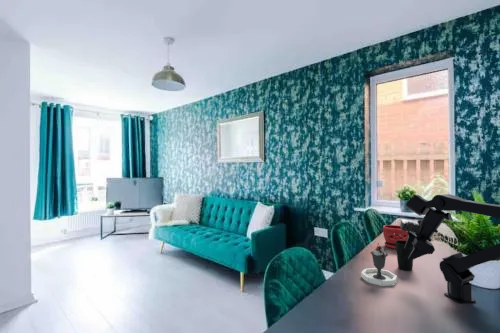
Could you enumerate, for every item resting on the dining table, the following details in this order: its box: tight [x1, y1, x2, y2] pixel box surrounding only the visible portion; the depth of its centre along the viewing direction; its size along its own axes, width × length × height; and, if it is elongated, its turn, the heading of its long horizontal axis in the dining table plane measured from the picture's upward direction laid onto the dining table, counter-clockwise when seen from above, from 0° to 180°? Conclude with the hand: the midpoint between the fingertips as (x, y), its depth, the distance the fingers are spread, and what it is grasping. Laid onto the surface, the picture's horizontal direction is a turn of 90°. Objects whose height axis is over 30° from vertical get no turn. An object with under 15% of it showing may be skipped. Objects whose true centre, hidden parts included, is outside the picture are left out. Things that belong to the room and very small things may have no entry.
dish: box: [360, 267, 398, 287], centre depth 110 cm, size 13×13×2 cm
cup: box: [395, 240, 414, 272], centre depth 121 cm, size 8×8×12 cm
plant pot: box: [382, 224, 408, 250], centre depth 154 cm, size 13×13×12 cm
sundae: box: [370, 242, 389, 280], centre depth 110 cm, size 7×7×15 cm
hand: (407, 254), depth 106 cm, fingers open, 9 cm apart
